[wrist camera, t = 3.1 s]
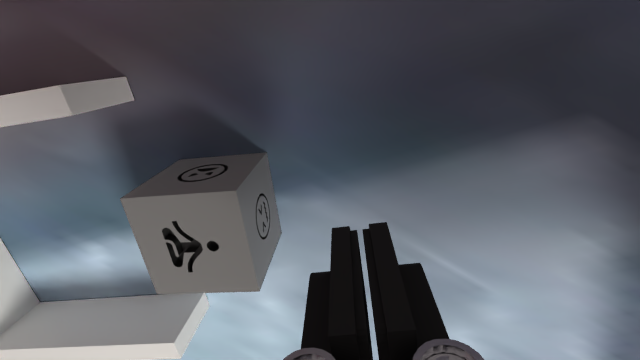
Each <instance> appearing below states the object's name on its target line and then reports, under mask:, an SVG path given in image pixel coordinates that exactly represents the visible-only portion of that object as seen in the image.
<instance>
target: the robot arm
mask: <svg viewBox="0 0 640 360" xmlns="http://www.w3.org/2000/svg"><path fill="white" fill-rule="evenodd" d="M363 237H364V245H365V253H366V261H367V269H368V277H369V285H370V293H371V301H372V309H373V317H374V324H375V332H376V340H377V347H378V355H379V360H484V359H483V358H482V356H481V355H480V354H479V353H478V352H476V351H475V350H474V349H472V348H471V347H470V346H468V345H466V344H464V343H461V342H459V341H456V340H451V339H449V337H448V334H447V331H446V329H445V326H444V323H443V321H442V318H441V315H440V313H439V310H438V307H437V305H436V302H435V300H434V297H433V294H432V292H431V289H430V286H429V284H428V281H427V278H426V276H425V273H424V270H423V268H422V266H421V264H420V263H413V264H403V265H398V262H397V258H396V254H395V251H394V247H393V243H392V240H391V236H390V232H389V229H388V225H387V222H384V223H375V224H369V229H363ZM283 360H373V356H372V347H371V338H370V329H369V320H368V311H367V302H366V294H365V287H364V279H363V272H362V264H361V257H360V249H359V242H358V235H357V230H354V231H350V227H349V226H347V227H338V228H332V241H331V269H330V271H329V272H318V273H311V274H310V279H309V287H308V295H307V304H306V312H305V320H304V328H303V336H302V344H301V349H300V350H297V351H294V352H293V353H291V354H290V355H288V356H287V357H285V358H284V359H283Z"/></svg>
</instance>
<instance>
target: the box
mask: <svg viewBox="0 0 640 360" xmlns="http://www.w3.org/2000/svg"><path fill="white" fill-rule="evenodd" d="M130 101H134V97H133V95H132V92H131V89H130V86H129V84H128V81H127V78H126V77H118V78H111V79H103V80H95V81H87V82H80V83H72V84H64V85H57V86H52V87H46V88H40V89H35V90H29V91H24V92H18V93H12V94H7V95H1V96H0V127H5V126H11V125H17V124H24V123H30V122H36V121H42V120H49V119H55V118H61V117H67V116H73V115H77V114H81V113H85V112H90V111H94V110H98V109H102V108H106V107H110V106H114V105H118V104H122V103H126V102H130ZM209 306H210V304H209V302H208V299H207V296H206V293H180V294H160V295H145V296H129V297H114V298H98V299H83V300H67V301H52V302H39V300H38V298H37V297H36V295H35V294H34V292H33V290H32V289H31V287H30V285H29V284H28V282H27V281H26V279H25V277H24V276H23V274H22V272H21V271H20V269H19V268H18V266H17V264H16V263H15V261H14V259H13V258H12V256H11V255H10V253H9V251H8V250H7V248H6V247H5V245H4V243H3V242H2V240H1V238H0V360H150V359H181V357H182V356H183V354H184V352H185V350H186V348H187V346H188V345H189V343H190V341H191V339H192V337H193V336H194V334H195V332H196V330H197V328H198V326H199V325H200V323H201V321H202V319H203V317H204V315H205V314H206V312H207V310H208V308H209Z"/></svg>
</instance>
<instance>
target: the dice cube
mask: <svg viewBox="0 0 640 360" xmlns="http://www.w3.org/2000/svg"><path fill="white" fill-rule="evenodd" d="M120 200H121V202H122V205H123V208H124V210H125V213H126V215H127V218H128V221H129V223H130V226H131V228H132V231H133V233H134V236H135V239H136V241H137V244H138V246H139V249H140V251H141V254H142V257H143V259H144V262H145V264H146V267H147V270H148V272H149V275H150V277H151V280H152V282H153V285H154V288H155V290H156V293H157V294H180V293H217V292H255V291H260V289H261V286H262V283H263V281H264V278H265V275H266V273H267V270H268V267H269V265H270V262H271V260H272V257H273V254H274V252H275V249H276V246H277V244H278V241H279V238H280V236H281V233H282V232H281V226H280V221H279V216H278V210H277V205H276V199H275V194H274V188H273V183H272V178H271V172H270V167H269V161H268V156H267V152H264V153H252V154H240V155H229V156H217V157H205V158H193V159H181V160H178V161H177V162H175V163H174V164H172V165H171V166H169V167H168V168H166V169H165V170H163V171H161V172H160V173H158V174H157V175H155V176H154V177H152V178H151V179H149V180H148V181H146V182H145V183H143V184H142V185H140V186H139V187H137V188H136V189H134V190H132V191H131V192H129V193H128V194H126V195H125V196H123V197H122V198H120Z"/></svg>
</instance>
